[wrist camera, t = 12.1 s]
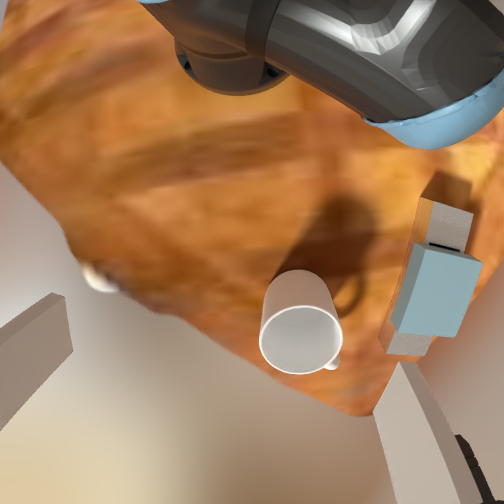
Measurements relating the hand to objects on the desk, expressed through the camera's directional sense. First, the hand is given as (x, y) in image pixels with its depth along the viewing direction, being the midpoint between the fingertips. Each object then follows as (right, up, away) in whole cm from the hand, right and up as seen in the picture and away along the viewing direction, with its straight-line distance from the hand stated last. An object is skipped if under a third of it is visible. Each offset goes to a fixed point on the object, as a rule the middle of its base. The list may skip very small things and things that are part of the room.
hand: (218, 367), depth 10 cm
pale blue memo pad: (+24, +1, +25) cm, 34 cm away
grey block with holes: (+24, +1, +25) cm, 35 cm away
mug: (+8, -3, +28) cm, 30 cm away
